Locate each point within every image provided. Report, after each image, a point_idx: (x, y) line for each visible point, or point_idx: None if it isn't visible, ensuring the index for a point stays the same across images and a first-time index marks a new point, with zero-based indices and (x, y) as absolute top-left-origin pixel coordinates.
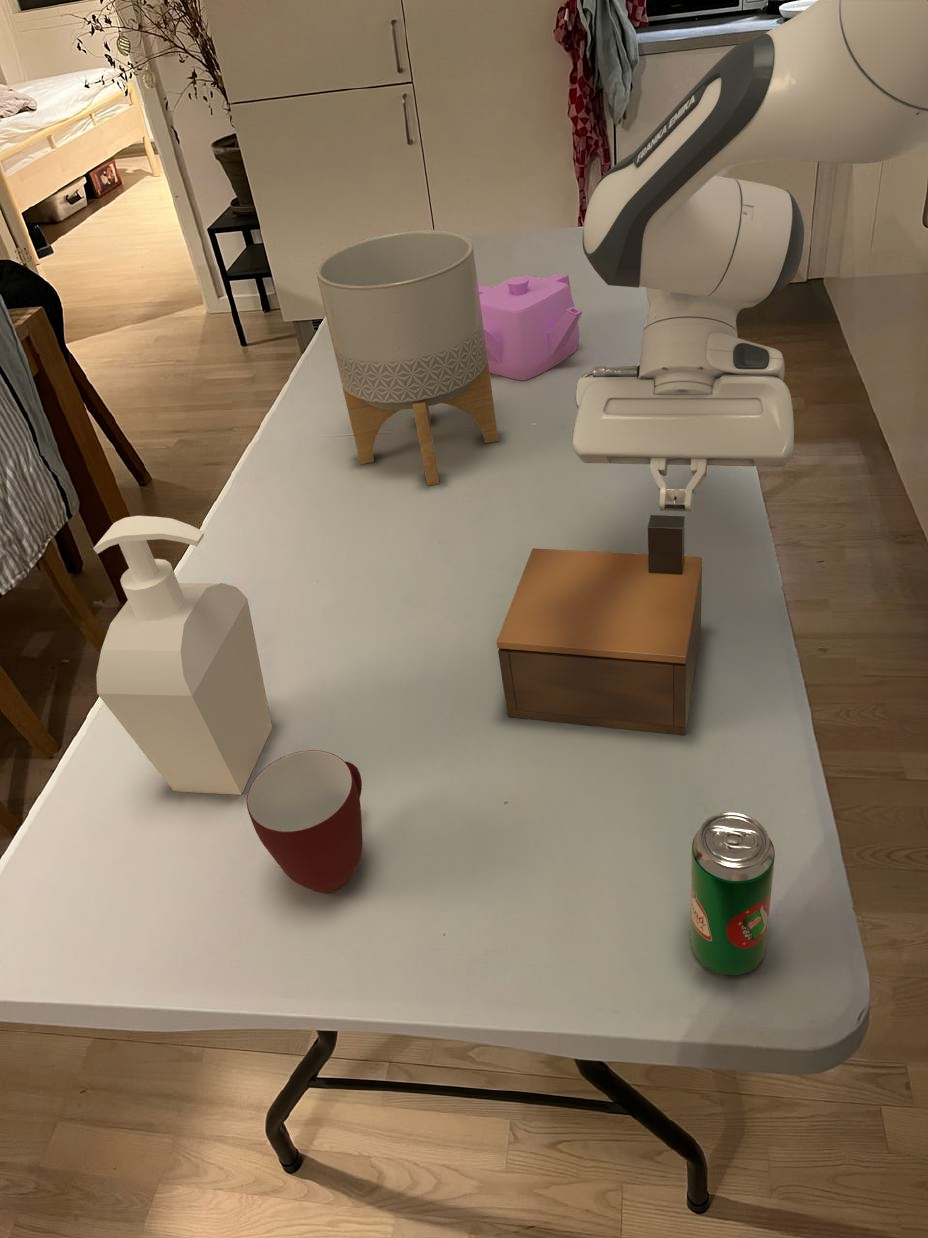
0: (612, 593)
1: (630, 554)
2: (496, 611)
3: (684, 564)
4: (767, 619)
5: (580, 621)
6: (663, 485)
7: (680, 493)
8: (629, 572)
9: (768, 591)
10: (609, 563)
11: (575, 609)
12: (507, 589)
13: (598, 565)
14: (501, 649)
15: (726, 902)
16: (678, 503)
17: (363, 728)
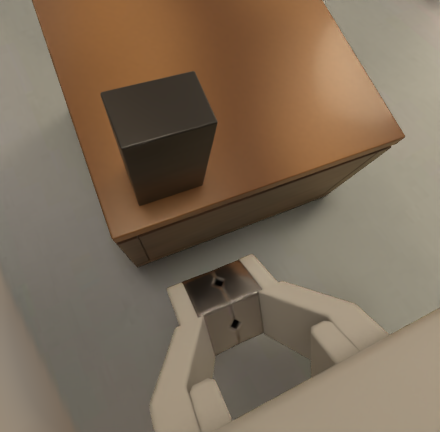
0: (214, 79)
1: (249, 186)
2: (379, 188)
3: (135, 198)
4: (56, 344)
5: (219, 10)
6: (275, 292)
7: (209, 297)
8: (219, 136)
9: (78, 418)
10: (266, 146)
11: (242, 30)
12: (400, 230)
13: (279, 134)
14: None
15: None
16: (202, 276)
17: (353, 11)
